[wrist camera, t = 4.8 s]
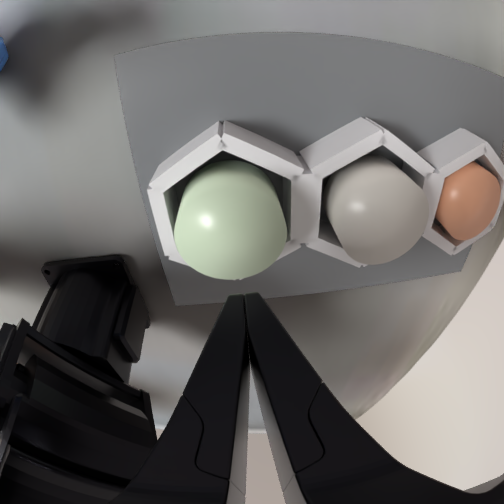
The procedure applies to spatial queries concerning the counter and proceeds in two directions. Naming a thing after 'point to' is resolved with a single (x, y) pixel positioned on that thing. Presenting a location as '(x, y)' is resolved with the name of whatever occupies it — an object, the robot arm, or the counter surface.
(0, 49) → the grapes
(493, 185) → the terracotta button
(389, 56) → the button panel
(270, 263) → the sage button
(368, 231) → the grey button
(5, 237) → the counter surface
